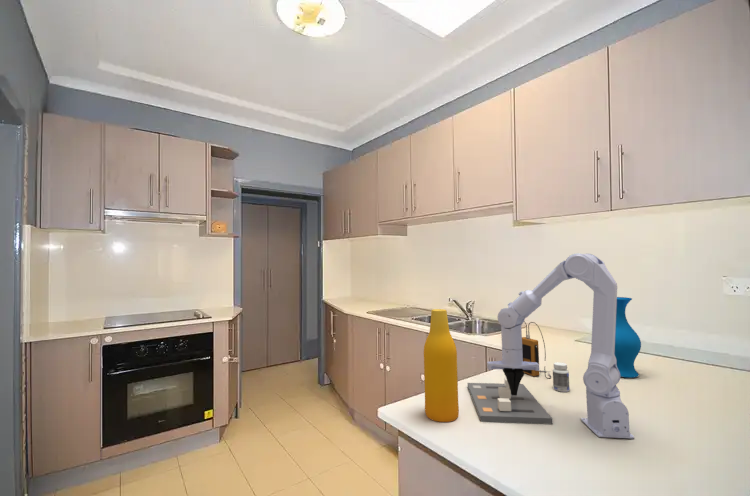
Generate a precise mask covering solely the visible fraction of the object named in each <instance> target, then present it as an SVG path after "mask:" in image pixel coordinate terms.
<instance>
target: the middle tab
mask: <svg viewBox="0 0 750 496" xmlns="http://www.w3.org/2000/svg"><path fill="white" fill-rule="evenodd" d="M498 391H499V397H500V398H509V399H511V390H510V389H509V387H498Z"/></svg>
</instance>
